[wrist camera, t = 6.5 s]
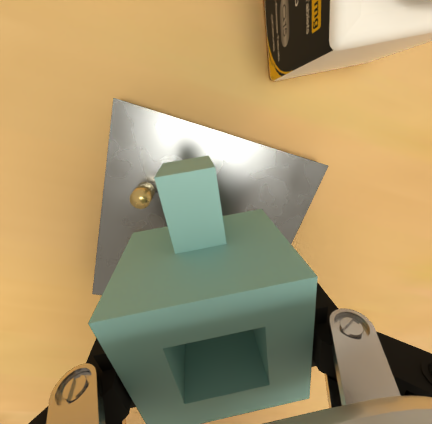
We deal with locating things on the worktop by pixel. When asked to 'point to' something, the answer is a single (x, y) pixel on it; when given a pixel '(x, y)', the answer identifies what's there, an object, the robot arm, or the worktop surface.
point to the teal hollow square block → (207, 308)
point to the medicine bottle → (341, 33)
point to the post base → (186, 149)
